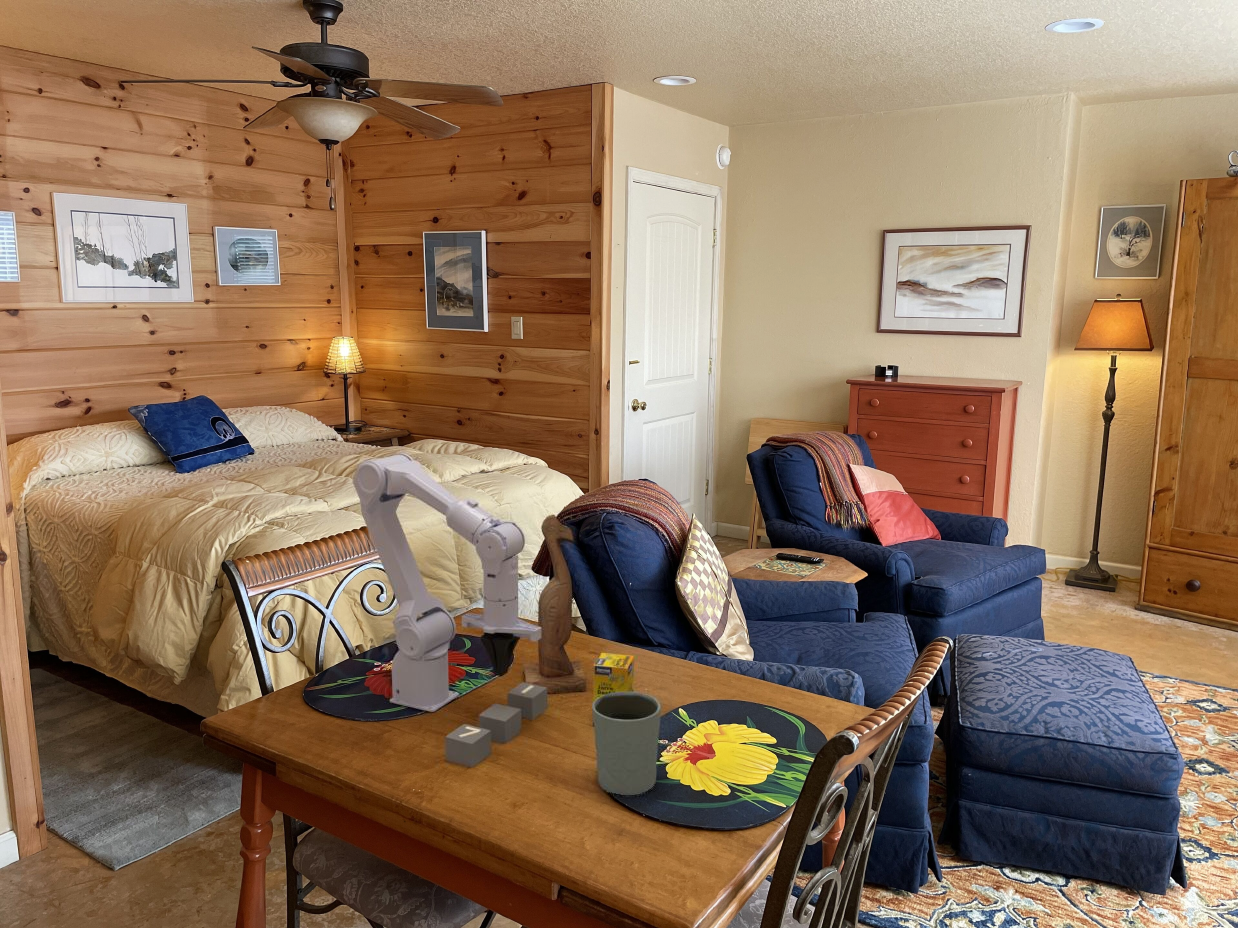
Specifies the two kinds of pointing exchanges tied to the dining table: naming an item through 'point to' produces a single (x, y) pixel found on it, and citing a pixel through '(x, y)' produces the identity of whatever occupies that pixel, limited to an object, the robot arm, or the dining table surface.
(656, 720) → the grey cup
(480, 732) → the block seven
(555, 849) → the dining table surface
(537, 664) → the bird sculpture
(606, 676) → the supplement box
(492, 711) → the plain block
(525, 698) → the block one
